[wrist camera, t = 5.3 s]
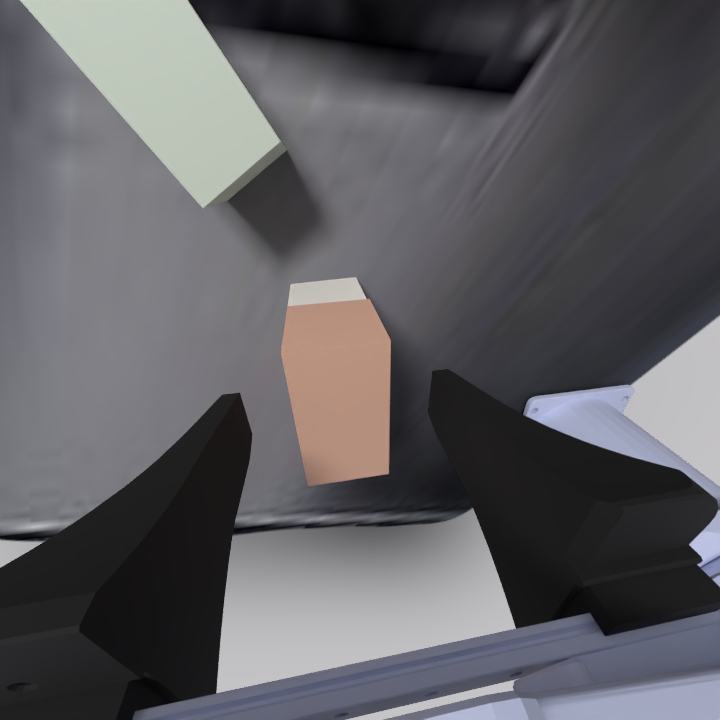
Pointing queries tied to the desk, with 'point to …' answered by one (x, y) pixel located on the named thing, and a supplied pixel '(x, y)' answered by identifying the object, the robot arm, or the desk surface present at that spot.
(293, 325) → the terracotta brick
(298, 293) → the cream brick
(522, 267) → the desk surface
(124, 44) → the sage brick
